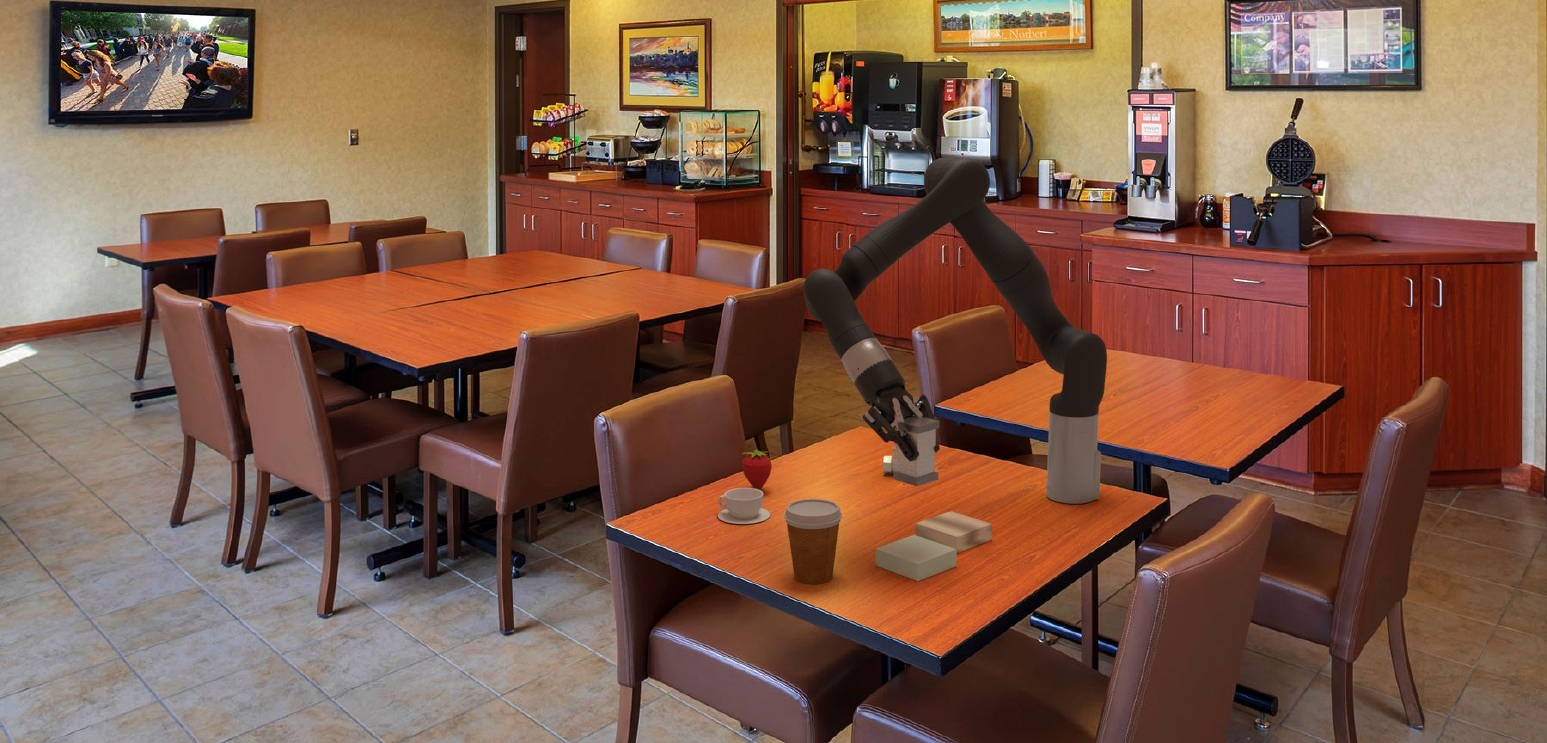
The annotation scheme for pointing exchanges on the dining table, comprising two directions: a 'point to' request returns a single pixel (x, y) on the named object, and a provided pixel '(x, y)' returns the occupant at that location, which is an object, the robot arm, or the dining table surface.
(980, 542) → the stand
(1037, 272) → the robot arm
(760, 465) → the strawberry
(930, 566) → the stand
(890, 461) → the valve
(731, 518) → the teacup
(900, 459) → the grey square pillar
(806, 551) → the disposable coffee cup
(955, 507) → the dining table surface
